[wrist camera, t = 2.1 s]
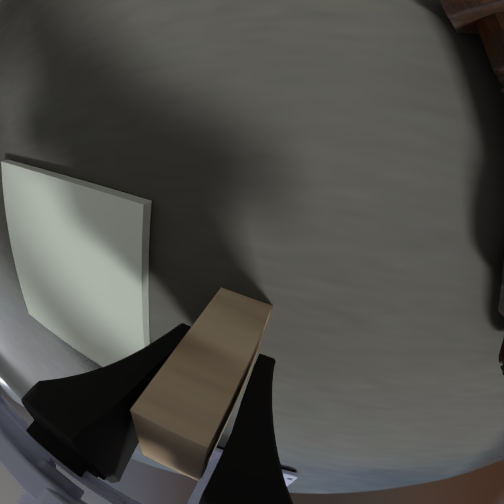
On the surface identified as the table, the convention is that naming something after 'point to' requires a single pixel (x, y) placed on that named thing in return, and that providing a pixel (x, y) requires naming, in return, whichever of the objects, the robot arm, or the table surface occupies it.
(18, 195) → the board
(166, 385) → the slab
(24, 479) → the robot arm
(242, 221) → the table surface
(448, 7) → the bolt
